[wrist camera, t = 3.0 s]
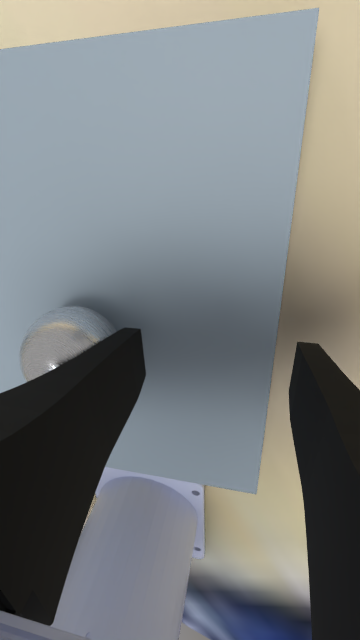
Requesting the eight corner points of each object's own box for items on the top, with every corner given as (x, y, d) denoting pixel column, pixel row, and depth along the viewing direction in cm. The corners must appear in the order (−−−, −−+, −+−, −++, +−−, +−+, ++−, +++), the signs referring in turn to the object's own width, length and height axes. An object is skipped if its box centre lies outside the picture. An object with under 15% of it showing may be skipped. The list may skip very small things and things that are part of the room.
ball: (141, 371, 13) (99, 435, 10) (69, 359, 14) (13, 415, 11) (132, 294, 11) (79, 345, 9) (51, 287, 12) (-21, 331, 9)
